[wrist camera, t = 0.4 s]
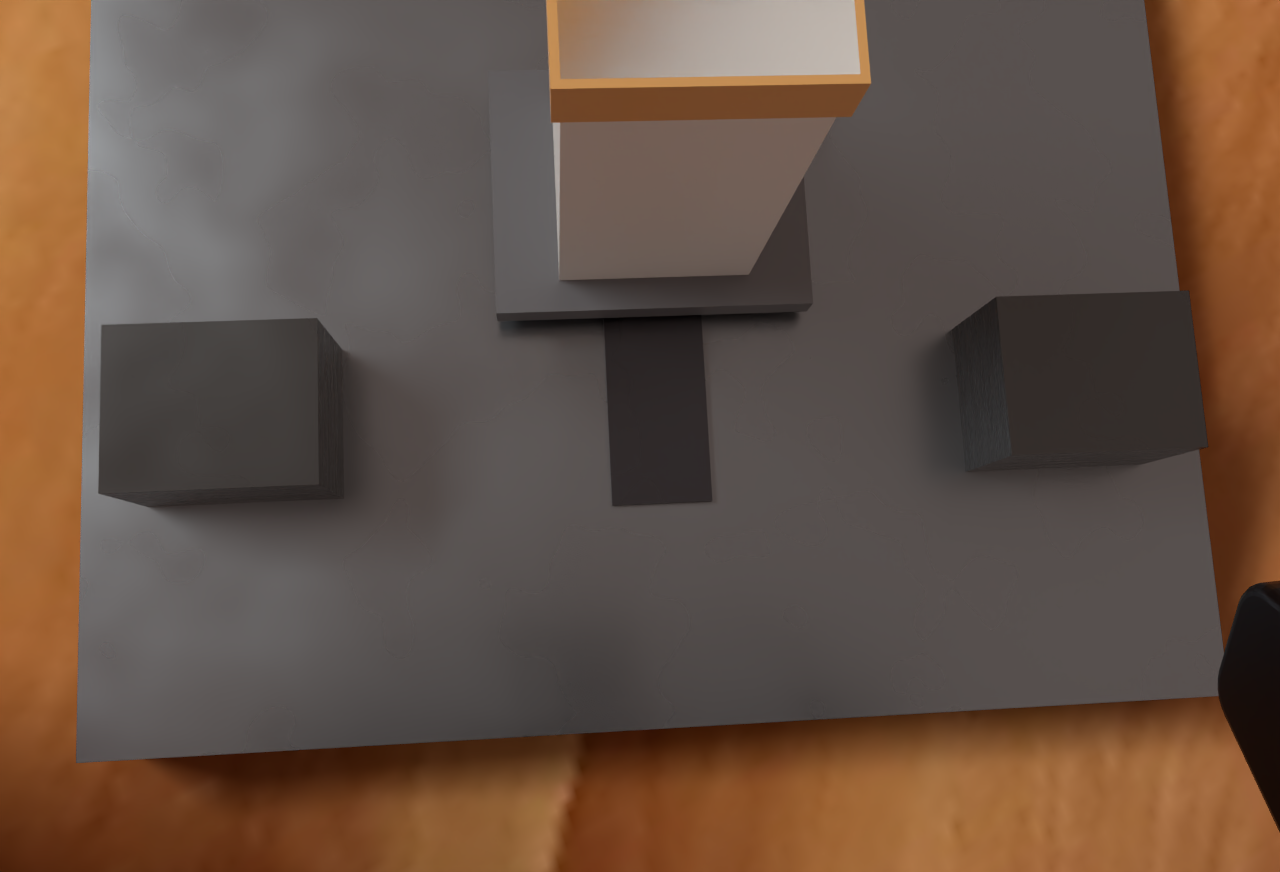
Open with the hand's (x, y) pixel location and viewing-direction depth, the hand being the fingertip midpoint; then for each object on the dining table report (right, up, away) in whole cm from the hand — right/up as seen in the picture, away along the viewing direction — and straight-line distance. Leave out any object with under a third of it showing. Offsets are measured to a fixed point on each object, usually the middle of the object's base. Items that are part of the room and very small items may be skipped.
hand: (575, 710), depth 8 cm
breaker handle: (+1, +6, +12) cm, 13 cm away
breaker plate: (0, +4, +14) cm, 14 cm away
